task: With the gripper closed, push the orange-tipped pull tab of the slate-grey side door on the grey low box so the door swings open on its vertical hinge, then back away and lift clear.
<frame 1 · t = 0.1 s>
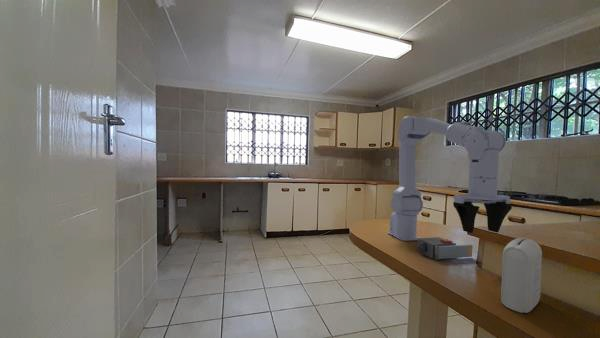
hand: (480, 231, 58), 10 cm above the counter, fingers open, 7 cm apart
grey low box: (435, 254, 68), on the counter
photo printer: (520, 303, 44), on the counter
side door: (453, 251, 65), point 2 cm above the counter, hinge at 0.0°
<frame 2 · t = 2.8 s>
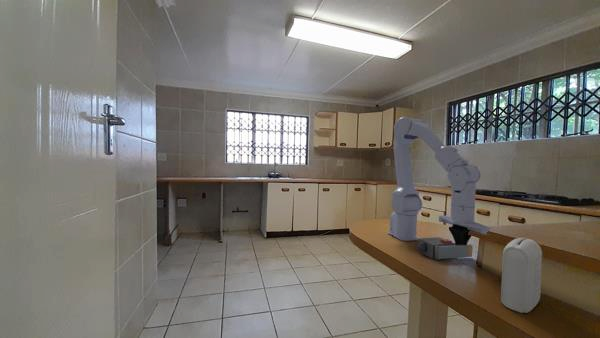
hand: (460, 251, 67), 1 cm above the counter, fingers closed
side door: (453, 251, 65), point 2 cm above the counter, hinge at 0.1°, touching gripper
everything else where it was.
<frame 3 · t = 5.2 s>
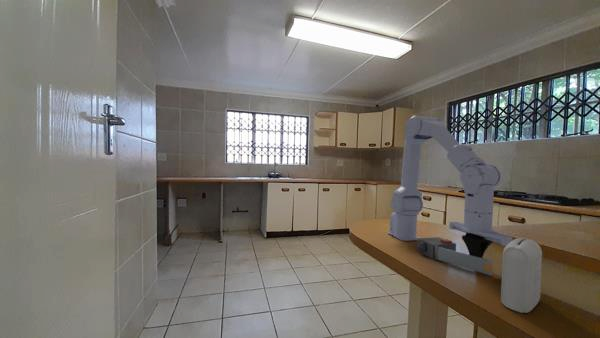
hand: (475, 264, 58), 1 cm above the counter, fingers closed, pressing on side door
side door: (461, 259, 59), point 2 cm above the counter, hinge at 63.4°, touching gripper
everything else where it was.
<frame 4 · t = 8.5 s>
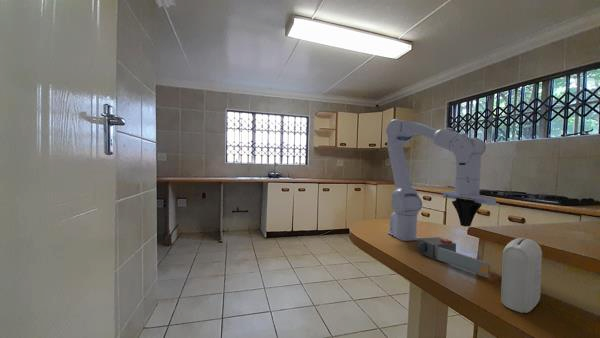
hand: (465, 225, 66), 9 cm above the counter, fingers closed
side door: (459, 260, 59), point 2 cm above the counter, hinge at 74.1°
everything else where it was.
at the end: side door at +74° (first picture: +0°); side door touching nothing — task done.
